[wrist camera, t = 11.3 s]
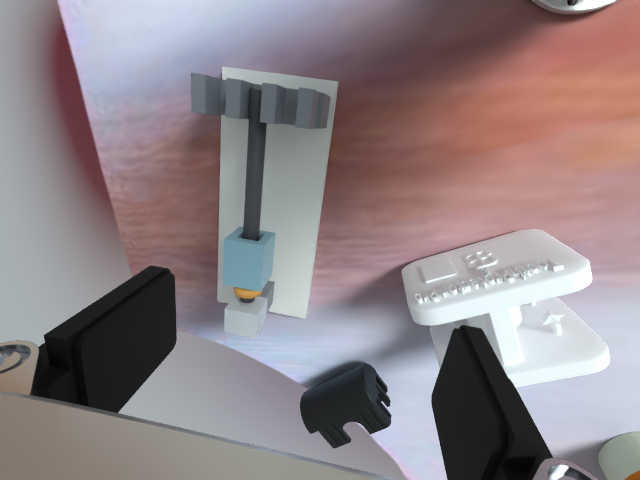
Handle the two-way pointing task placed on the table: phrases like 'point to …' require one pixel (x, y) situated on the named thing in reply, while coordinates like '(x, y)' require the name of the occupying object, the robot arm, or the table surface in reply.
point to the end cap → (346, 404)
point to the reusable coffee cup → (621, 457)
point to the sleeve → (248, 260)
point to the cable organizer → (510, 304)
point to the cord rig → (270, 180)
